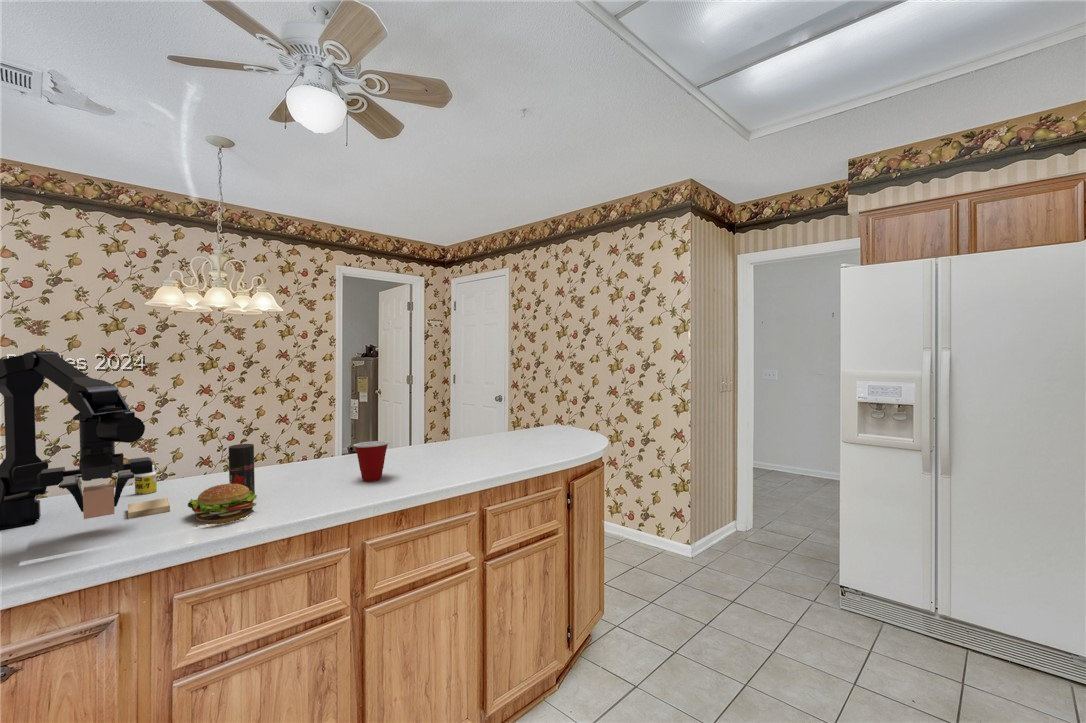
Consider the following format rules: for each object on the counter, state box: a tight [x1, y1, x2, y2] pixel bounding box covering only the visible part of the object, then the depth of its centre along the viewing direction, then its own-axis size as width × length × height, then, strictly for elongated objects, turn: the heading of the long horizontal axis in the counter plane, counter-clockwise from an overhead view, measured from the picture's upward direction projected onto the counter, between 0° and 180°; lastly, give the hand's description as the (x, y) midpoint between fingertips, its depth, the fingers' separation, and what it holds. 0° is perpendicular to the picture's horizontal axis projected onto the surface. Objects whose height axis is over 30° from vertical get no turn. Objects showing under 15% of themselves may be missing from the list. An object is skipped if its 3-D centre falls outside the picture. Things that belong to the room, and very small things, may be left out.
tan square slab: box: [127, 497, 171, 520], centre depth 121 cm, size 8×8×2 cm
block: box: [82, 482, 115, 520], centre depth 108 cm, size 5×5×6 cm
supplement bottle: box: [134, 464, 158, 496], centre depth 136 cm, size 5×5×8 cm
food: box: [187, 483, 258, 525], centre depth 120 cm, size 14×14×8 cm
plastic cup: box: [353, 440, 390, 483], centre depth 153 cm, size 11×11×12 cm
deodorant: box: [228, 443, 256, 495], centre depth 133 cm, size 6×6×15 cm
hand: (99, 508), depth 108 cm, fingers closed on block, 5 cm apart
